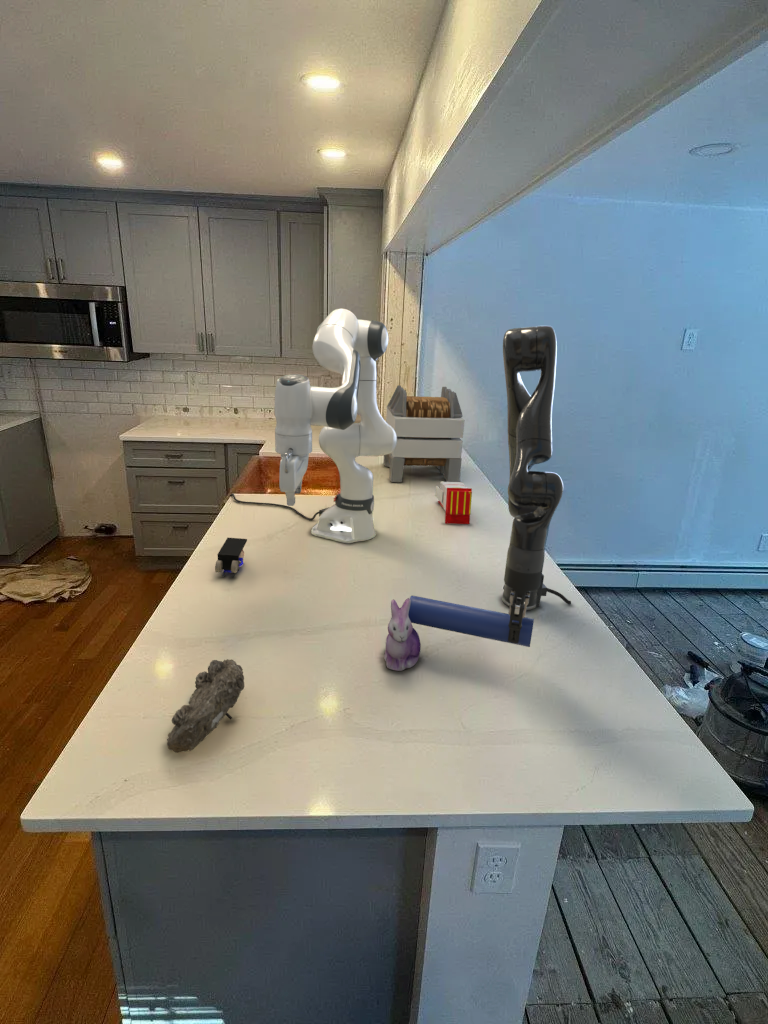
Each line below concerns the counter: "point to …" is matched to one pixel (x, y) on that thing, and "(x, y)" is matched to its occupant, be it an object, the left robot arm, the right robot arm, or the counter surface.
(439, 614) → the rod
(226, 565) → the figurine character
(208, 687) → the fossil
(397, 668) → the figurine
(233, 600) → the counter surface
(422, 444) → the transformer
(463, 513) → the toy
